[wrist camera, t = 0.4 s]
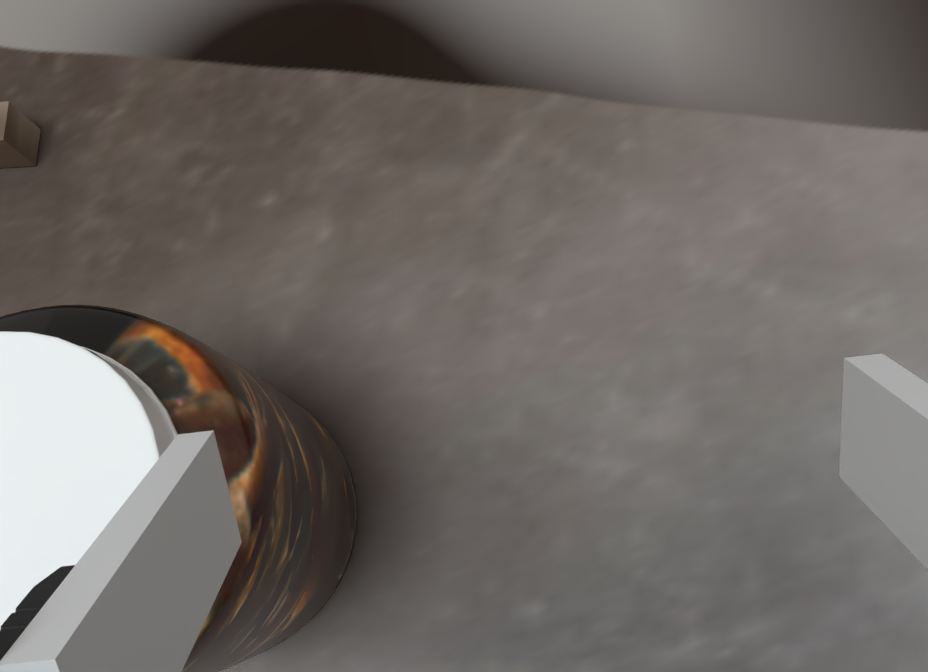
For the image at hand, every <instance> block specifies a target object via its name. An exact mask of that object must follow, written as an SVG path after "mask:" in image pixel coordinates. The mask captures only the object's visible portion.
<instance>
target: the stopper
mask: <svg viewBox="0 0 928 672" xmlns="http://www.w3.org/2000/svg"><path fill="white" fill-rule="evenodd" d="M40 132H41V129H39V128H38V127H37V126H36V125H35V124H34V123H33V122H32V121H30V120H29V119H28V118H27V117H26V116H25V115H24V114H23V113H21V112H20V111H19V110H18V109H17V108H16V107H15V106H13V105H12V104H11V103H10V102H0V168H13V167H31V166H36V163H37V155H38V147H39V140H40Z"/></svg>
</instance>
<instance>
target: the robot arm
mask: <svg viewBox="0 0 928 672" xmlns="http://www.w3.org/2000/svg"><path fill="white" fill-rule="evenodd" d="M839 477H840V478H841V479H842V480H843V481H844V482H845V483H846V484H847V485H848V486H849V488H850V489H851V490H852V491H853V492H854V493H855V494H856V495H857V496H858V497H859V498H860V499H861V500H862V501H863V502H864V503H865V504H866V505H867V507H868V508H869V509H870V510H871V511H872V512H873V513H874V514H875V515H876V516H877V517H878V518H879V519H880V520H881V521H882V522H883V523H884V524H885V525H886V527H887V528H888V529H889V530H890V531H891V532H892V533H893V534H894V535H895V536H896V537H897V538H898V539H899V540H900V541H901V542H902V543H903V544H904V545H905V547H906V548H907V549H908V550H909V551H910V552H911V553H912V554H913V555H914V556H915V557H916V558H917V559H918V560H919V561H920V562H921V563H922V564H923V565H924V567H925V568H926V569H927V570H928V383H926V382H925V381H923V380H922V379H920V378H918V377H917V376H915V375H914V374H912V373H911V372H909V371H908V370H906V369H905V368H903V367H902V366H900V365H899V364H897V363H896V362H894V361H893V360H891V359H890V358H888V357H886V356H885V355H883V354H874V355H866V356H857V357H848V358H844V374H843V398H842V422H841V446H840V470H839ZM241 543H242V541H241V537H240V533H239V529H238V525H237V521H236V517H235V513H234V509H233V505H232V501H231V497H230V493H229V489H228V486H227V482H226V478H225V474H224V470H223V466H222V462H221V458H220V454H219V450H218V446H217V442H216V438H215V434H214V430H212V431H203V432H195V433H186V434H178V435H177V436H176V437H175V439H174V440H173V441H172V443H171V444H170V445H169V446H168V448H167V449H166V450H165V451H164V453H163V454H162V455H161V457H160V458H159V459H158V460H157V462H156V463H155V464H154V465H153V467H152V468H151V469H150V471H149V472H148V473H147V474H146V476H145V477H144V478H143V480H142V481H141V482H140V483H139V485H138V486H137V487H136V488H135V490H134V491H133V492H132V494H131V495H130V496H129V497H128V499H127V500H126V501H125V502H124V504H123V505H122V506H121V508H120V509H119V510H118V511H117V513H116V514H115V515H114V516H113V518H112V519H111V520H110V522H109V523H108V524H107V525H106V527H105V528H104V529H103V531H102V532H101V533H100V534H99V536H98V537H97V538H96V539H95V541H94V542H93V543H92V545H91V546H90V547H89V548H88V550H87V551H86V552H85V553H84V555H83V556H82V557H81V559H80V560H79V561H78V562H77V564H76V565H71V566H62V567H60V568H58V569H57V570H56V571H54V572H53V573H52V574H50V575H49V576H48V577H46V578H45V579H44V580H42V581H41V582H39V583H38V584H37V585H35V586H34V587H33V588H32V589H31V591H30V592H29V593H28V594H27V595H26V597H25V598H24V599H23V600H22V601H21V603H20V604H19V605H18V606H17V607H16V612H15V613H11V615H10V616H9V617H8V618H7V619H6V621H5V622H4V623H3V624H2V625H1V630H0V672H182V670H183V667H184V665H185V663H186V661H187V659H188V657H189V655H190V652H191V650H192V648H193V646H194V644H195V642H196V639H197V637H198V635H199V633H200V631H201V629H202V627H203V624H204V622H205V620H206V618H207V616H208V614H209V612H210V609H211V607H212V605H213V603H214V601H215V599H216V597H217V594H218V592H219V590H220V588H221V586H222V584H223V582H224V579H225V577H226V575H227V573H228V571H229V569H230V566H231V564H232V562H233V560H234V558H235V556H236V554H237V551H238V549H239V547H240V545H241Z"/></svg>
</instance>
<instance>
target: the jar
mask: <svg viewBox="0 0 928 672" xmlns="http://www.w3.org/2000/svg"><path fill="white" fill-rule="evenodd" d="M212 430H214V434H215V438H216V442H217V446H218V450H219V454H220V458H221V462H222V466H223V470H224V474H225V478H226V482H227V486H228V489H229V493H230V497H231V501H232V505H233V509H234V513H235V517H236V521H237V525H238V529H239V533H240V537H241V541H242V543H241V545H240V547H239V549H238V551H237V554H236V556H235V558H234V560H233V562H232V564H231V566H230V569H229V571H228V573H227V575H226V577H225V579H224V582H223V584H222V586H221V588H220V590H219V592H218V594H217V597H216V599H215V601H214V603H213V605H212V607H211V609H210V612H209V614H208V616H207V618H206V620H205V622H204V624H203V627H202V629H201V631H200V633H199V635H198V637H197V639H196V642H195V644H194V646H193V648H192V650H191V652H190V655H189V657H188V659H187V661H186V663H185V665H184V667H183V670H182V672H220V671H222V670H224V669H226V668H229V667H231V666H233V665H235V664H238V663H240V662H242V661H244V660H246V659H249V658H251V657H253V656H255V655H257V654H259V653H261V652H263V651H265V650H268V649H270V648H271V647H273V646H275V645H277V644H278V643H280V642H282V641H284V640H285V639H287V638H288V637H290V636H291V635H293V634H294V633H295V632H297V631H298V630H299V629H300V628H302V627H303V626H304V625H305V624H306V623H307V622H309V621H310V620H311V619H312V618H313V617H314V616H315V615H316V614H317V612H318V611H319V610H320V609H321V608H322V607H323V605H324V604H325V603H326V601H327V600H328V599H329V597H330V596H331V595H332V593H333V591H334V590H335V588H336V586H337V585H338V583H339V581H340V579H341V577H342V575H343V573H344V571H345V569H346V566H347V563H348V561H349V558H350V555H351V551H352V548H353V543H354V538H355V532H356V523H357V506H356V496H355V489H354V484H353V480H352V476H351V473H350V470H349V468H348V465H347V462H346V460H345V458H344V456H343V454H342V452H341V450H340V448H339V447H338V445H337V443H336V442H335V440H334V439H333V437H332V436H331V435H330V433H329V432H328V431H327V430H326V429H325V427H324V426H323V425H322V424H321V423H320V422H319V421H318V420H317V419H316V418H315V417H314V416H313V415H311V414H310V413H309V412H308V411H306V410H305V409H304V408H303V407H302V406H300V405H299V404H297V403H296V402H294V401H293V400H292V399H290V398H289V397H287V396H286V395H284V394H283V393H281V392H280V391H278V390H277V389H275V388H274V387H272V386H271V385H269V384H268V383H266V382H265V381H263V380H262V379H260V378H259V377H257V376H256V375H254V374H253V373H251V372H249V371H248V370H246V369H245V368H243V367H242V366H240V365H238V364H237V363H235V362H234V361H232V360H231V359H229V358H227V357H226V356H224V355H222V354H221V353H219V352H217V351H216V350H214V349H212V348H210V347H209V346H207V345H205V344H204V343H202V342H200V341H198V340H196V339H195V338H193V337H191V336H189V335H187V334H185V333H183V332H181V331H179V330H177V329H175V328H173V327H171V326H168V325H166V324H164V323H161V322H159V321H156V320H153V319H150V318H147V317H144V316H141V315H138V314H135V313H131V312H127V311H123V310H119V309H115V308H109V307H102V306H92V305H59V306H50V307H42V308H37V309H31V310H26V311H21V312H17V313H13V314H10V315H6V316H3V317H0V630H1V625H2V624H3V623H4V622H5V621H6V619H7V618H8V617H9V616H10V615H11V613H15V612H16V607H17V606H18V605H19V604H20V603H21V601H22V600H23V599H24V598H25V597H26V595H27V594H28V593H29V592H30V591H31V589H32V588H33V587H34V586H35V585H37V584H38V583H39V582H41V581H42V580H44V579H45V578H46V577H48V576H49V575H50V574H52V573H53V572H54V571H56V570H57V569H58V568H60V567H62V566H71V565H76V564H77V562H78V561H79V560H80V559H81V557H82V556H83V555H84V553H85V552H86V551H87V550H88V548H89V547H90V546H91V545H92V543H93V542H94V541H95V539H96V538H97V537H98V536H99V534H100V533H101V532H102V531H103V529H104V528H105V527H106V525H107V524H108V523H109V522H110V520H111V519H112V518H113V516H114V515H115V514H116V513H117V511H118V510H119V509H120V508H121V506H122V505H123V504H124V502H125V501H126V500H127V499H128V497H129V496H130V495H131V494H132V492H133V491H134V490H135V488H136V487H137V486H138V485H139V483H140V482H141V481H142V480H143V478H144V477H145V476H146V474H147V473H148V472H149V471H150V469H151V468H152V467H153V465H154V464H155V463H156V462H157V460H158V459H159V458H160V457H161V455H162V454H163V453H164V451H165V450H166V449H167V448H168V446H169V445H170V444H171V443H172V441H173V440H174V439H175V437H176V436H177V435H178V434H186V433H195V432H203V431H212Z"/></svg>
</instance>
